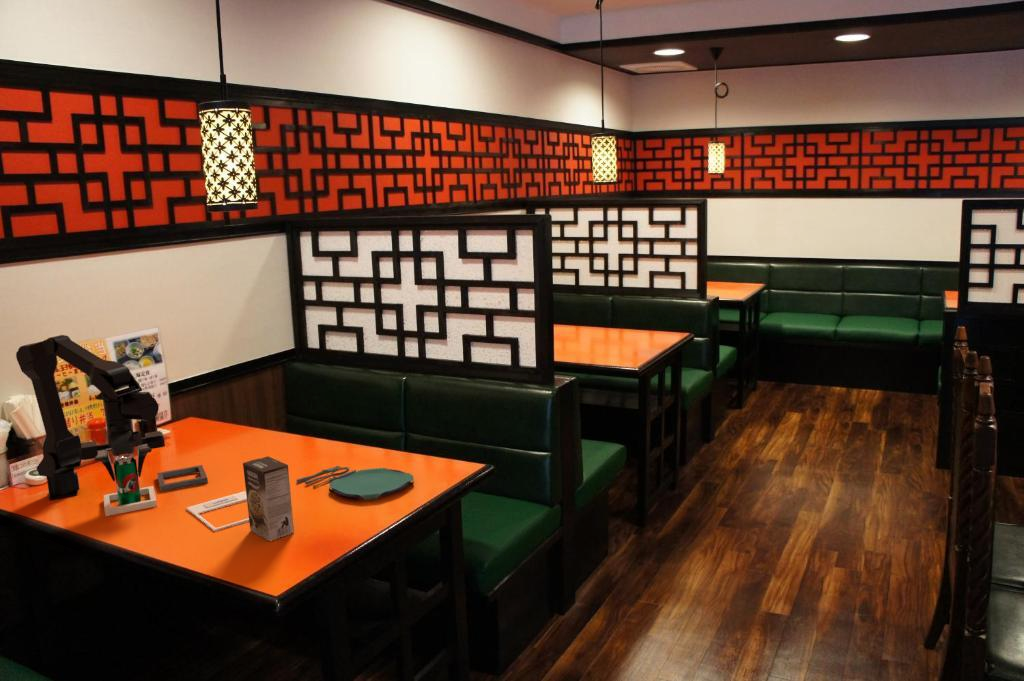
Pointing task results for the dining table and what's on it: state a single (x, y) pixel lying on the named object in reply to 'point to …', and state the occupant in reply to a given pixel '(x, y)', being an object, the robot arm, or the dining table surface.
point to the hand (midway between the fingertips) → (126, 478)
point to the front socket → (132, 506)
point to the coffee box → (268, 498)
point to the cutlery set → (363, 481)
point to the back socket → (183, 483)
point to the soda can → (127, 479)
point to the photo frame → (218, 504)
